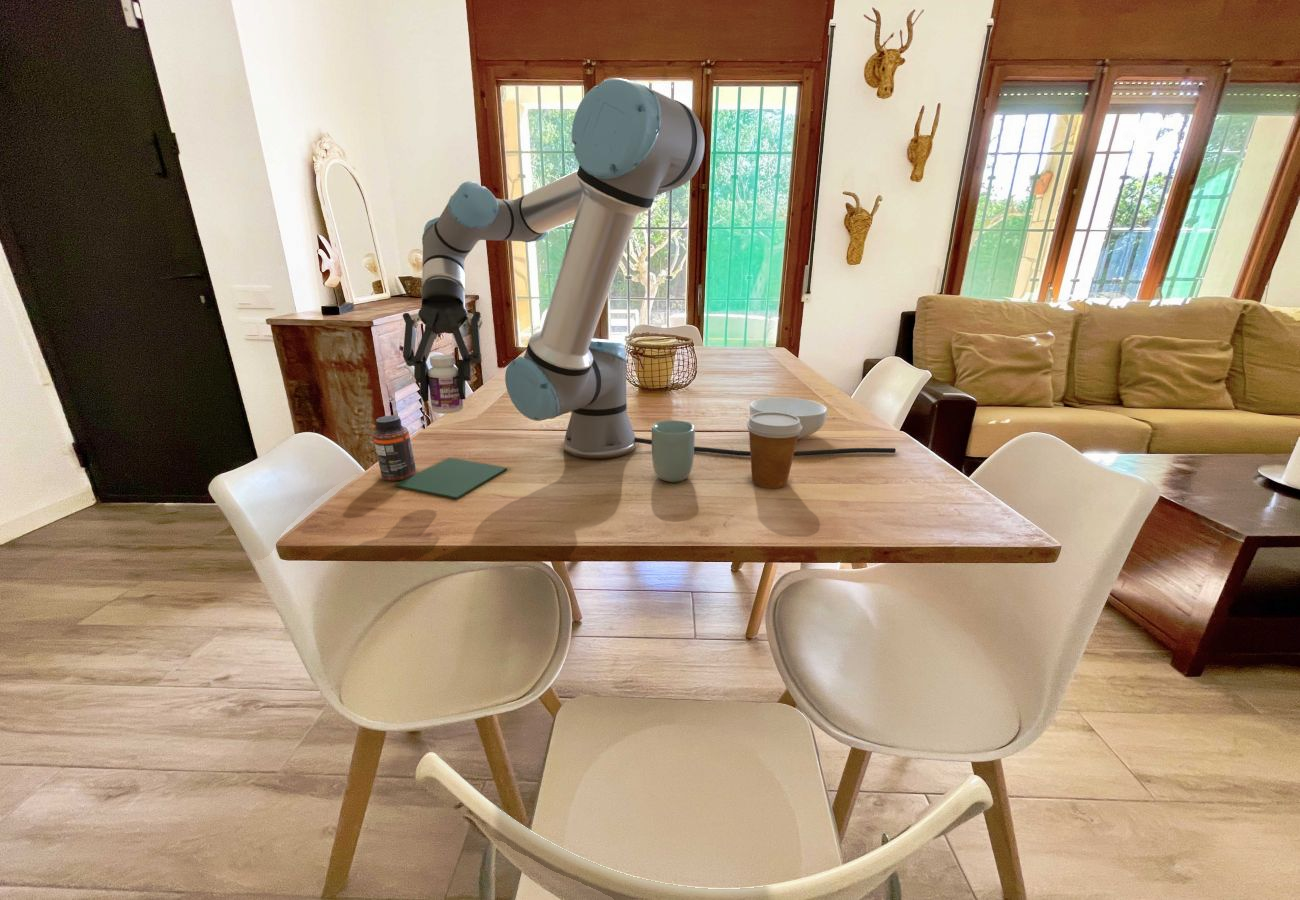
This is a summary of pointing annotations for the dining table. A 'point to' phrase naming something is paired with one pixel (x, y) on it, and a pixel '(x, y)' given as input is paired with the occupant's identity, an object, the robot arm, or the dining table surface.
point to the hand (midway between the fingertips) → (443, 396)
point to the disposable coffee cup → (772, 447)
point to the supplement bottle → (393, 449)
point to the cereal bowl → (794, 411)
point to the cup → (673, 449)
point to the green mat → (451, 478)
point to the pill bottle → (444, 385)
